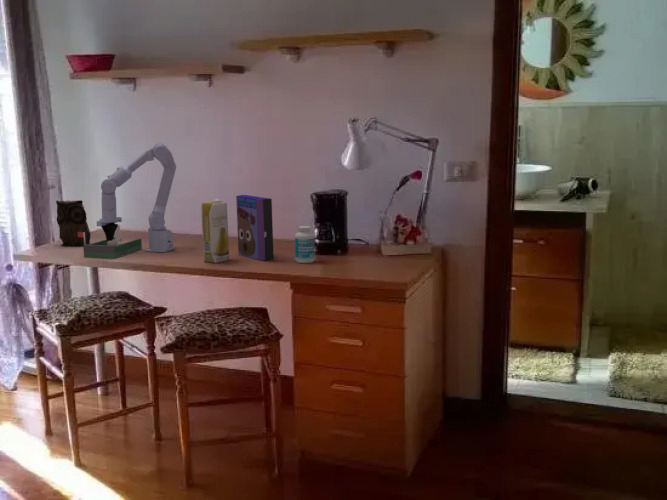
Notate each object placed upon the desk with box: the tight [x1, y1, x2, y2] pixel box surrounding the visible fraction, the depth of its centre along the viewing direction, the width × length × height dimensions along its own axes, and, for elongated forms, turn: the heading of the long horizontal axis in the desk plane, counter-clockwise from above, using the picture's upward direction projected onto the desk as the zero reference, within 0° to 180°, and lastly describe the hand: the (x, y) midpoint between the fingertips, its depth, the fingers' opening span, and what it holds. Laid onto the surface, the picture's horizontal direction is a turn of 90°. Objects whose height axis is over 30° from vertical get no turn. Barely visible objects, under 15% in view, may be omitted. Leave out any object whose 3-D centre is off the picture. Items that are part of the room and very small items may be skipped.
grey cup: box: [114, 224, 121, 242], centre depth 339 cm, size 7×7×7 cm
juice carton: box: [200, 198, 230, 264], centre depth 291 cm, size 9×8×24 cm
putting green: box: [78, 232, 143, 260], centre depth 311 cm, size 16×20×10 cm
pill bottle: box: [294, 225, 316, 264], centre depth 287 cm, size 8×7×14 cm
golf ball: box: [107, 239, 118, 246], centre depth 311 cm, size 4×4×4 cm
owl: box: [55, 199, 92, 248], centre depth 329 cm, size 13×13×20 cm
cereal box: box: [235, 194, 274, 262], centre depth 296 cm, size 17×5×24 cm, turn 40°
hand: (109, 241), depth 310 cm, fingers closed, pressing on golf ball
